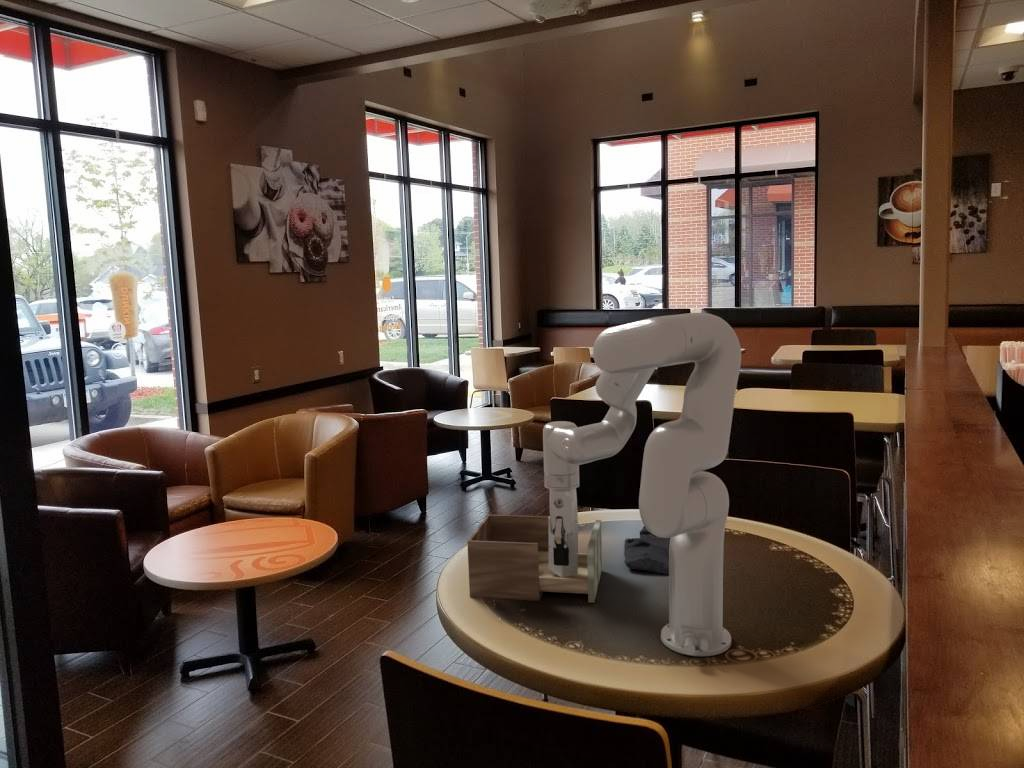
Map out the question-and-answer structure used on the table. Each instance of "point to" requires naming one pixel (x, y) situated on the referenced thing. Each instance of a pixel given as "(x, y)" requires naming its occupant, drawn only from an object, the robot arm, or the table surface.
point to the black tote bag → (647, 552)
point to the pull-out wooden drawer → (587, 570)
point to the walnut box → (507, 557)
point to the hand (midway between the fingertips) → (564, 557)
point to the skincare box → (573, 553)
